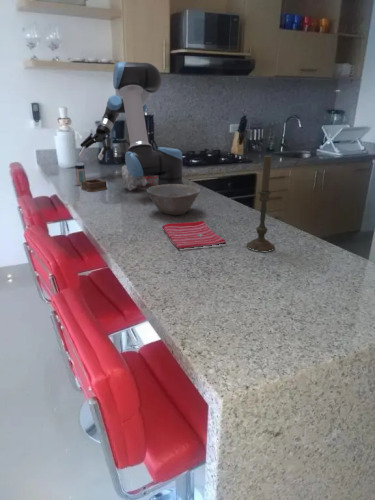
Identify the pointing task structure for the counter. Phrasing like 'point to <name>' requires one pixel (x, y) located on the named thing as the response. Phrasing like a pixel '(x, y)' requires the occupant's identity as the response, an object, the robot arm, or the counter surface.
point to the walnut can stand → (93, 185)
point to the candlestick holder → (263, 211)
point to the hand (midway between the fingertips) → (89, 158)
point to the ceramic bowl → (173, 197)
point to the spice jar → (80, 173)
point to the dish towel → (192, 235)
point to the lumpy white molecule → (133, 179)
